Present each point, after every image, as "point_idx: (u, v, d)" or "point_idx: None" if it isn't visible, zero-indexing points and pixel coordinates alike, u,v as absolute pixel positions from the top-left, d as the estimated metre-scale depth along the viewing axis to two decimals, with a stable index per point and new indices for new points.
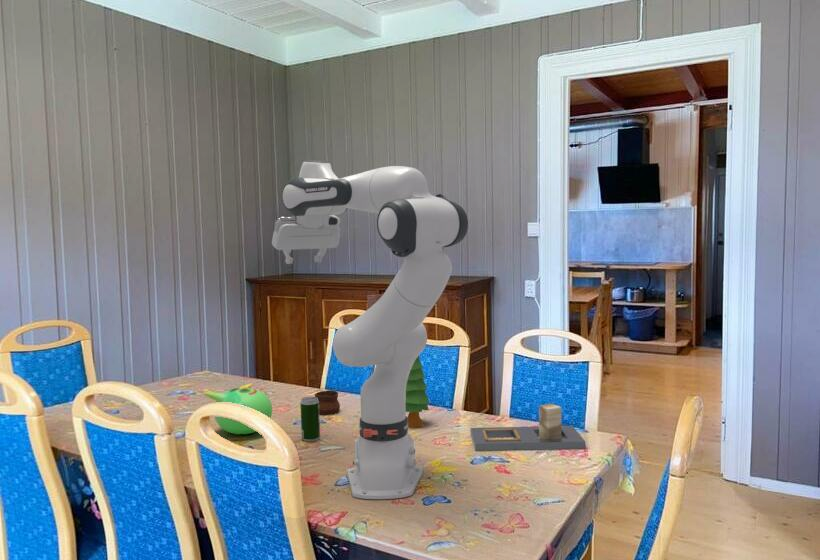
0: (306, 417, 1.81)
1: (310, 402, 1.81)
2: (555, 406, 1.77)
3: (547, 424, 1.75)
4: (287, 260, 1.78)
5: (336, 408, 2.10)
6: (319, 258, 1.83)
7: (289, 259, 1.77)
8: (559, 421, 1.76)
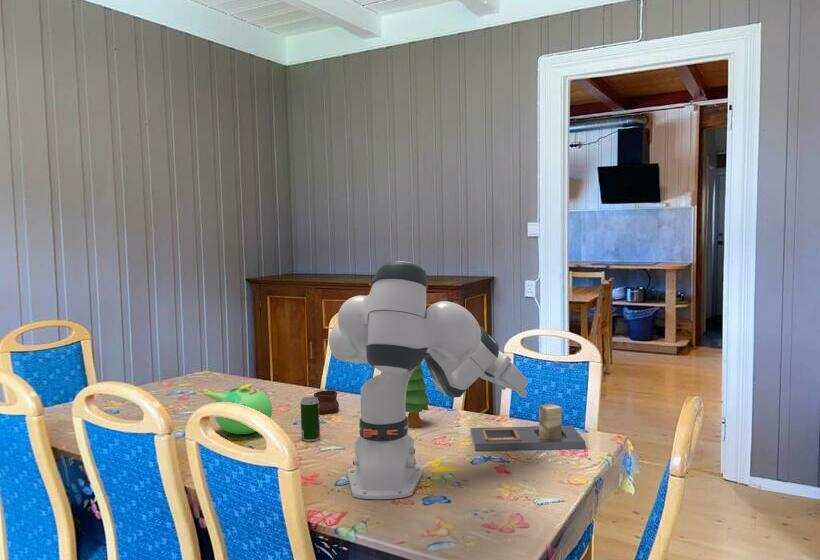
0: (306, 417, 1.81)
1: (310, 402, 1.81)
2: (555, 406, 1.77)
3: (547, 424, 1.75)
4: None
5: (334, 408, 2.10)
6: (519, 394, 1.66)
7: (498, 386, 1.75)
8: (559, 421, 1.76)
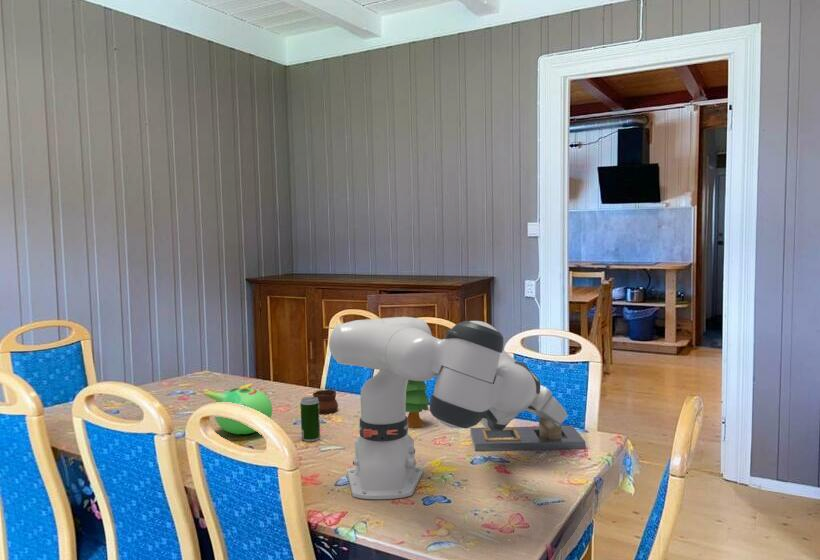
0: (306, 417, 1.81)
1: (310, 402, 1.81)
2: None
3: (547, 424, 1.75)
4: None
5: (333, 407, 2.11)
6: (553, 423, 1.75)
7: None
8: None
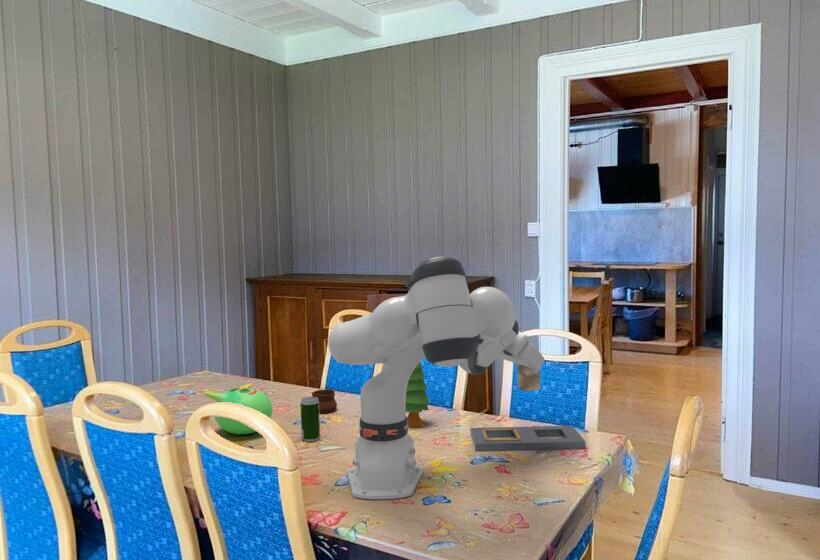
0: (306, 417, 1.81)
1: (310, 402, 1.81)
2: None
3: (525, 371, 1.75)
4: None
5: (332, 407, 2.11)
6: (531, 370, 1.74)
7: None
8: None
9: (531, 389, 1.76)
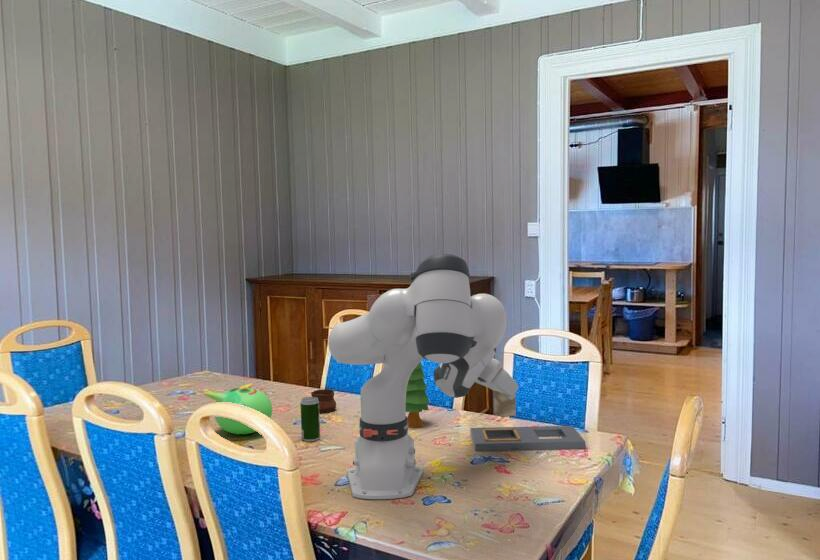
0: (306, 417, 1.81)
1: (310, 402, 1.81)
2: None
3: (501, 397, 1.75)
4: None
5: (331, 407, 2.11)
6: (507, 396, 1.74)
7: None
8: None
9: (506, 415, 1.75)
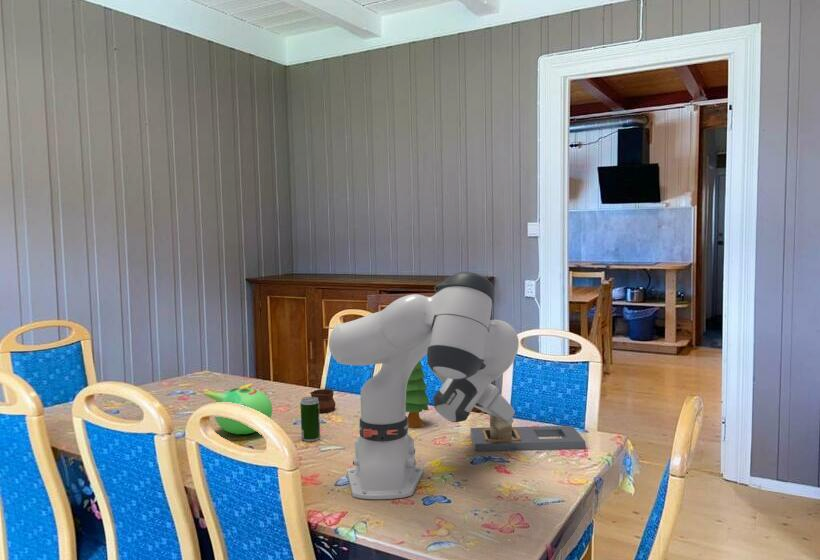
0: (306, 417, 1.81)
1: (310, 402, 1.81)
2: None
3: (497, 425, 1.76)
4: None
5: (330, 407, 2.12)
6: None
7: None
8: None
9: None
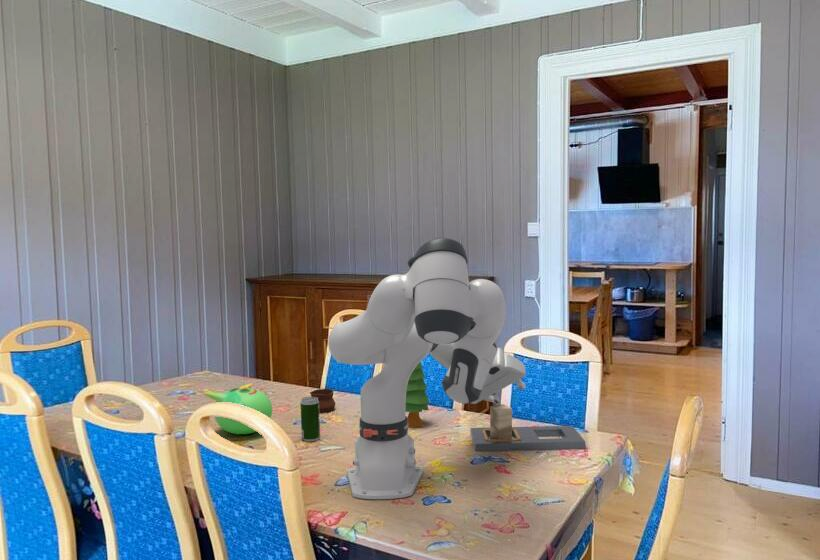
0: (306, 417, 1.81)
1: (310, 402, 1.81)
2: (506, 407, 1.77)
3: (497, 425, 1.75)
4: None
5: (330, 406, 2.12)
6: (520, 387, 1.73)
7: (493, 401, 1.78)
8: (509, 422, 1.76)
9: None
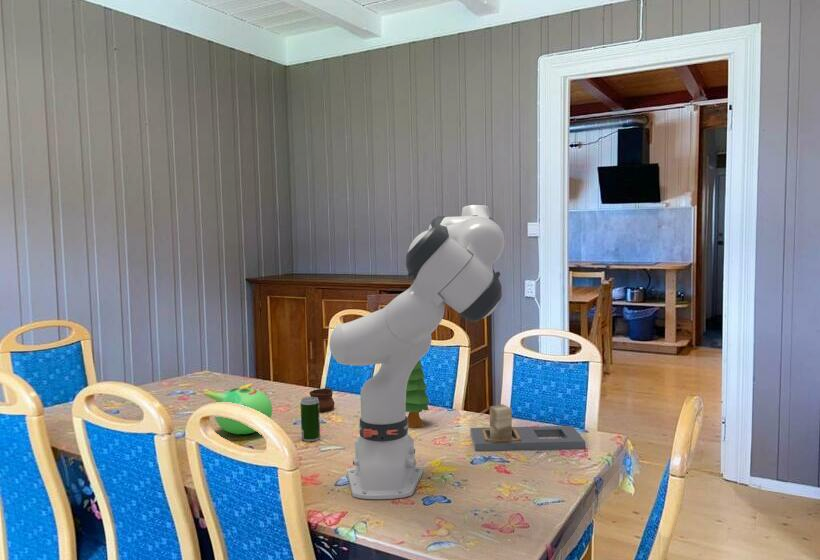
0: (306, 417, 1.81)
1: (310, 402, 1.81)
2: (505, 407, 1.77)
3: (497, 425, 1.76)
4: None
5: (329, 406, 2.12)
6: None
7: None
8: (509, 422, 1.77)
9: None
